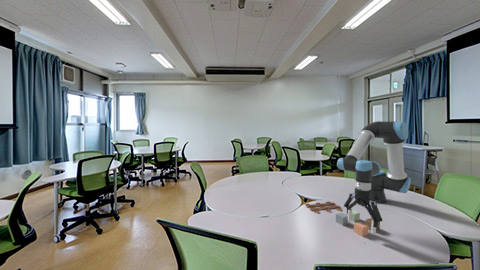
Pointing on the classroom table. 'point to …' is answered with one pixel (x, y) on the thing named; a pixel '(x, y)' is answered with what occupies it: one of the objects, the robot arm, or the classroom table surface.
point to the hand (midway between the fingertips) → (360, 226)
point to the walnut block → (369, 222)
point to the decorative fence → (323, 207)
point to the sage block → (355, 216)
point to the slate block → (342, 219)
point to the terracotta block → (361, 228)
